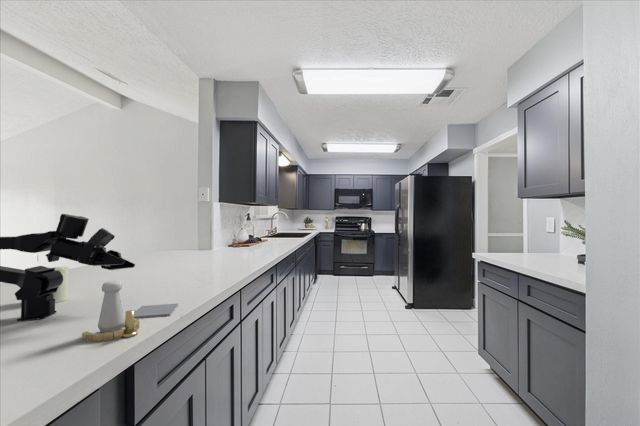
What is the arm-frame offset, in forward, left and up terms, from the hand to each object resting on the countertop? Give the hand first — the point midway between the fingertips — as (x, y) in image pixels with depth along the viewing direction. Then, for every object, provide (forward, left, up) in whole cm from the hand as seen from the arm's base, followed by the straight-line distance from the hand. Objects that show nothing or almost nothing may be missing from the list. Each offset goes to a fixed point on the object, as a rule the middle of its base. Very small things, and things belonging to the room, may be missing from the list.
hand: (129, 264), depth 91 cm
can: (-32, +21, -15) cm, 41 cm away
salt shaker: (+2, -17, -15) cm, 23 cm away
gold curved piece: (+5, -19, -15) cm, 25 cm away
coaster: (+8, -2, -15) cm, 17 cm away
